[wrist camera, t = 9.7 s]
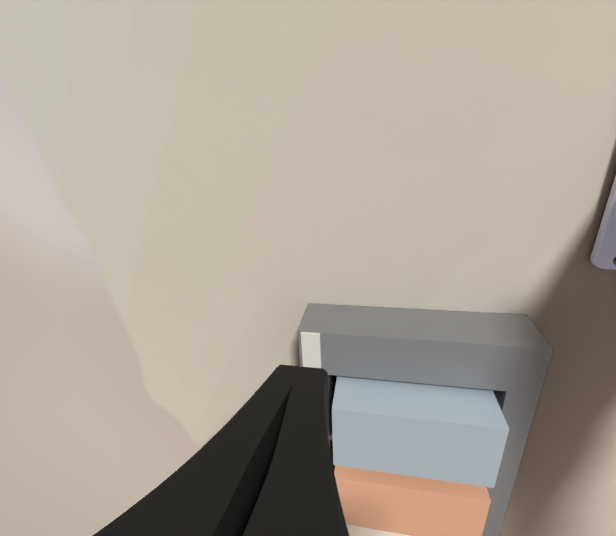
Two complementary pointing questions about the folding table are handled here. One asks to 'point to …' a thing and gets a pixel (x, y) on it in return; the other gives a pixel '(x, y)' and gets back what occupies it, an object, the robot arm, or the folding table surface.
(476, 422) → the slate key
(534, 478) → the folding table surface
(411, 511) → the terracotta key
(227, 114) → the folding table surface
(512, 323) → the grey shallow tray
